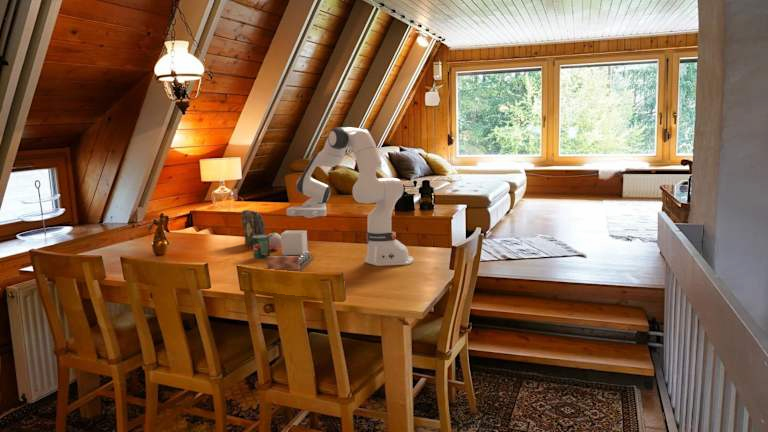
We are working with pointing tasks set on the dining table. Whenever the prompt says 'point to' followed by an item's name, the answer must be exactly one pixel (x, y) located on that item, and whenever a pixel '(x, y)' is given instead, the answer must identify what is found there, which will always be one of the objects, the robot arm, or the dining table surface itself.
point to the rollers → (302, 257)
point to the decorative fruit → (274, 240)
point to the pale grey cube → (294, 242)
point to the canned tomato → (261, 247)
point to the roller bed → (287, 263)
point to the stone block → (252, 225)
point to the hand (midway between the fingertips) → (303, 214)
